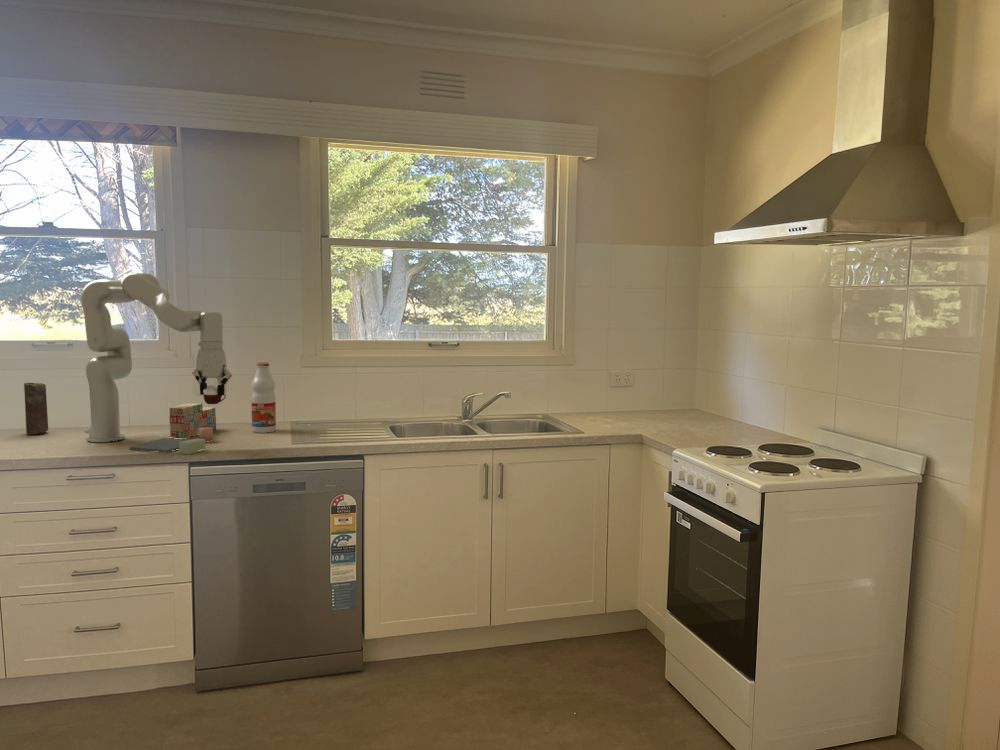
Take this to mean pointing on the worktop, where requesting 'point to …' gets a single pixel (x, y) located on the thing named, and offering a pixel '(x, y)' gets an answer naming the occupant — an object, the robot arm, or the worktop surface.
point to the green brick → (191, 446)
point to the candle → (35, 408)
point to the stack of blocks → (190, 419)
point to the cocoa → (210, 393)
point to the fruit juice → (263, 400)
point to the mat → (159, 445)
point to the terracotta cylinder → (205, 433)
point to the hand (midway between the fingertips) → (212, 394)
